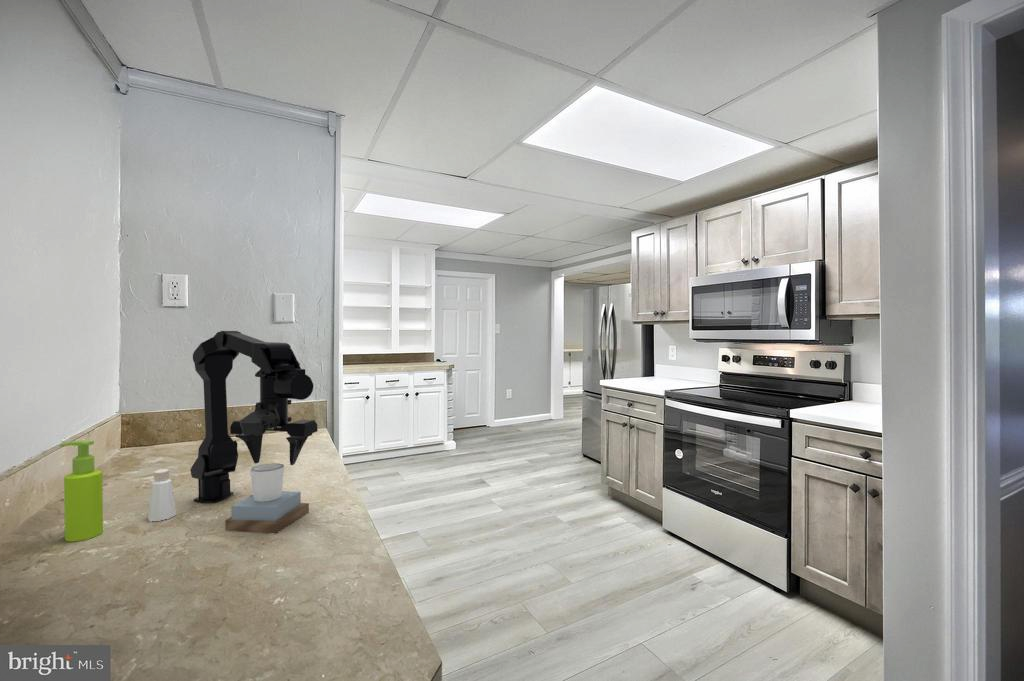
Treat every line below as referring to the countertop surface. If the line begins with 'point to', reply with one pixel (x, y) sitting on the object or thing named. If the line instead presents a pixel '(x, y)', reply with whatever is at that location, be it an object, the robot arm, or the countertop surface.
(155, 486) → the pepper shaker
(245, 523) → the tower base
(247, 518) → the tower top
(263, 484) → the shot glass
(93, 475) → the soap dispenser
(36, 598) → the countertop surface
